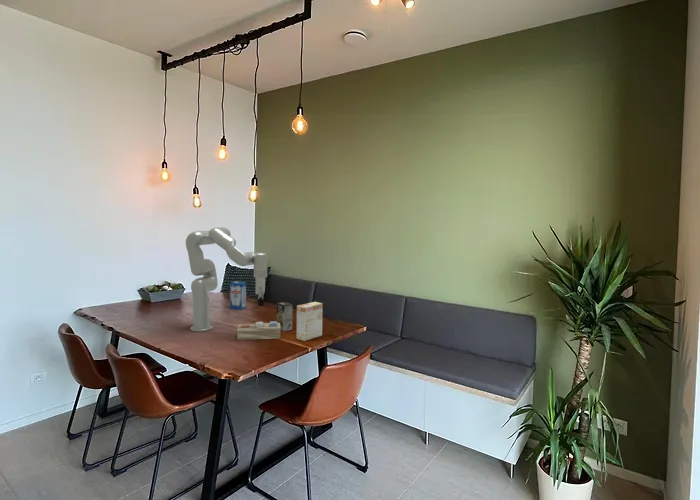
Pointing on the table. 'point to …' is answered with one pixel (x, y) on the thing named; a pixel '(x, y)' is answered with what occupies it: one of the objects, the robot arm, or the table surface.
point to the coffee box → (284, 315)
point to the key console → (258, 332)
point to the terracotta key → (245, 326)
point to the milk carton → (238, 295)
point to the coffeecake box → (309, 320)
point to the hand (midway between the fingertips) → (260, 305)
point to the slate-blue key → (273, 324)
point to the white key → (259, 324)
